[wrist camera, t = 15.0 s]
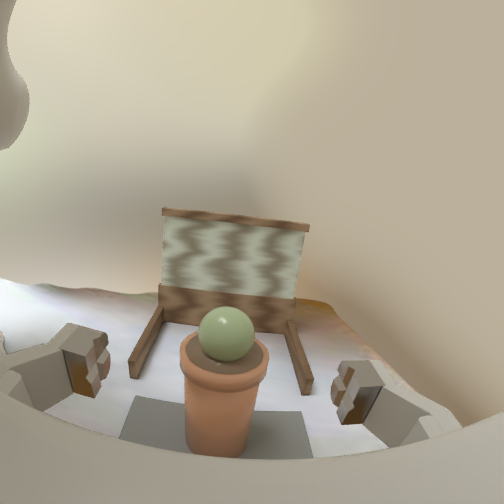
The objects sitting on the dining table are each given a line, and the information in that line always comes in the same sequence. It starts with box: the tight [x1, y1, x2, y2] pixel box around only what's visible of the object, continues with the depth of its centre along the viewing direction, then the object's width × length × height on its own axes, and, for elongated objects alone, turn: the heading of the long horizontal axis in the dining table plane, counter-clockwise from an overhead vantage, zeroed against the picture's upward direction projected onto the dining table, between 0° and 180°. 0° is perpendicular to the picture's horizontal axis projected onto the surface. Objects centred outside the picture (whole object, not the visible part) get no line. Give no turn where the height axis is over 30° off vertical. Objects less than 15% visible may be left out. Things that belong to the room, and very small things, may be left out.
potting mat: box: [119, 396, 313, 460], centre depth 25 cm, size 20×10×1 cm, turn 93°
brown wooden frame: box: [128, 207, 314, 395], centre depth 40 cm, size 24×18×20 cm
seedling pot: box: [180, 306, 269, 458], centre depth 23 cm, size 7×7×16 cm
